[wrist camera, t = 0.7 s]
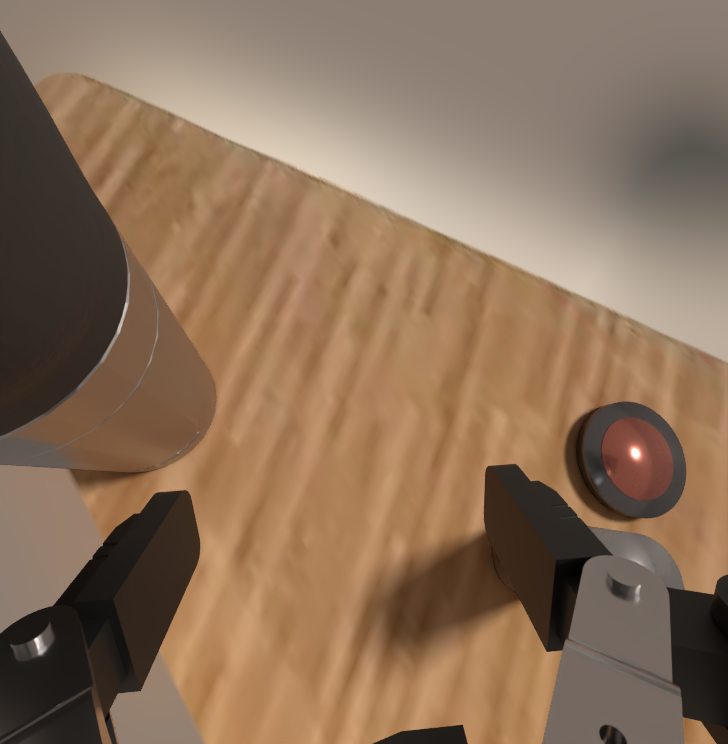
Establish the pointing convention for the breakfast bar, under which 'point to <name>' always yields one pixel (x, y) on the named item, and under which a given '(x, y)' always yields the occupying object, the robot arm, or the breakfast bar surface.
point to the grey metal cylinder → (627, 555)
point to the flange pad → (631, 460)
